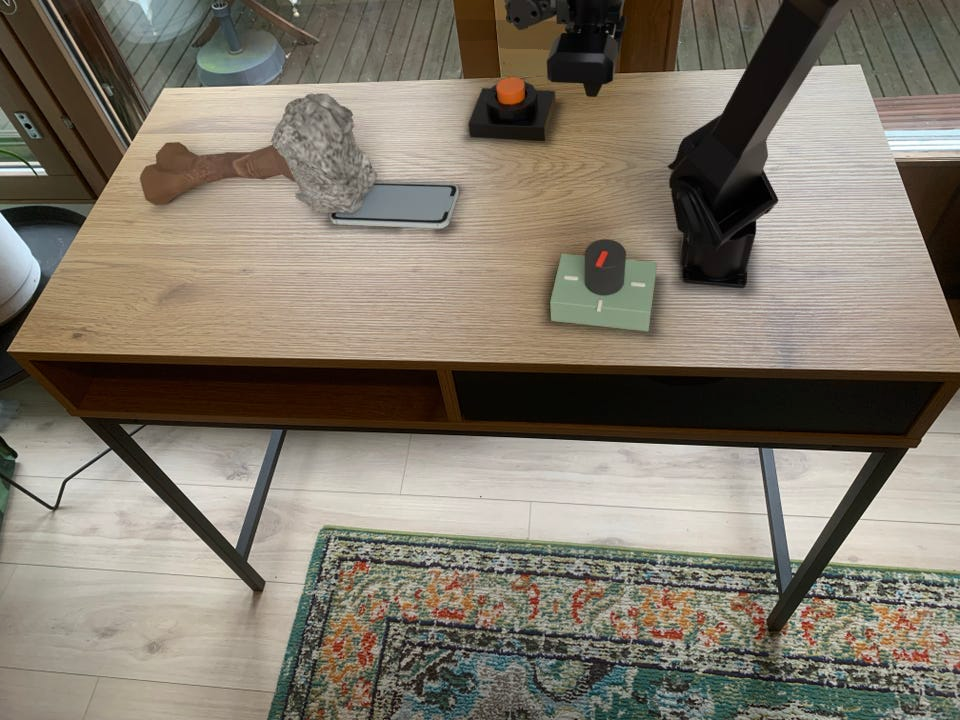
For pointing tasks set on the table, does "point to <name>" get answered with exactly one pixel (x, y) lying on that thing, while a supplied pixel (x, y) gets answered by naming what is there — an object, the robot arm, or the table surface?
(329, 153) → the hammer
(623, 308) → the dial panel
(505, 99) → the button
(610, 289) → the dial
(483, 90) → the button base
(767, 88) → the robot arm
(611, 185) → the table surface
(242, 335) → the table surface
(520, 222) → the table surface
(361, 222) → the smartphone
